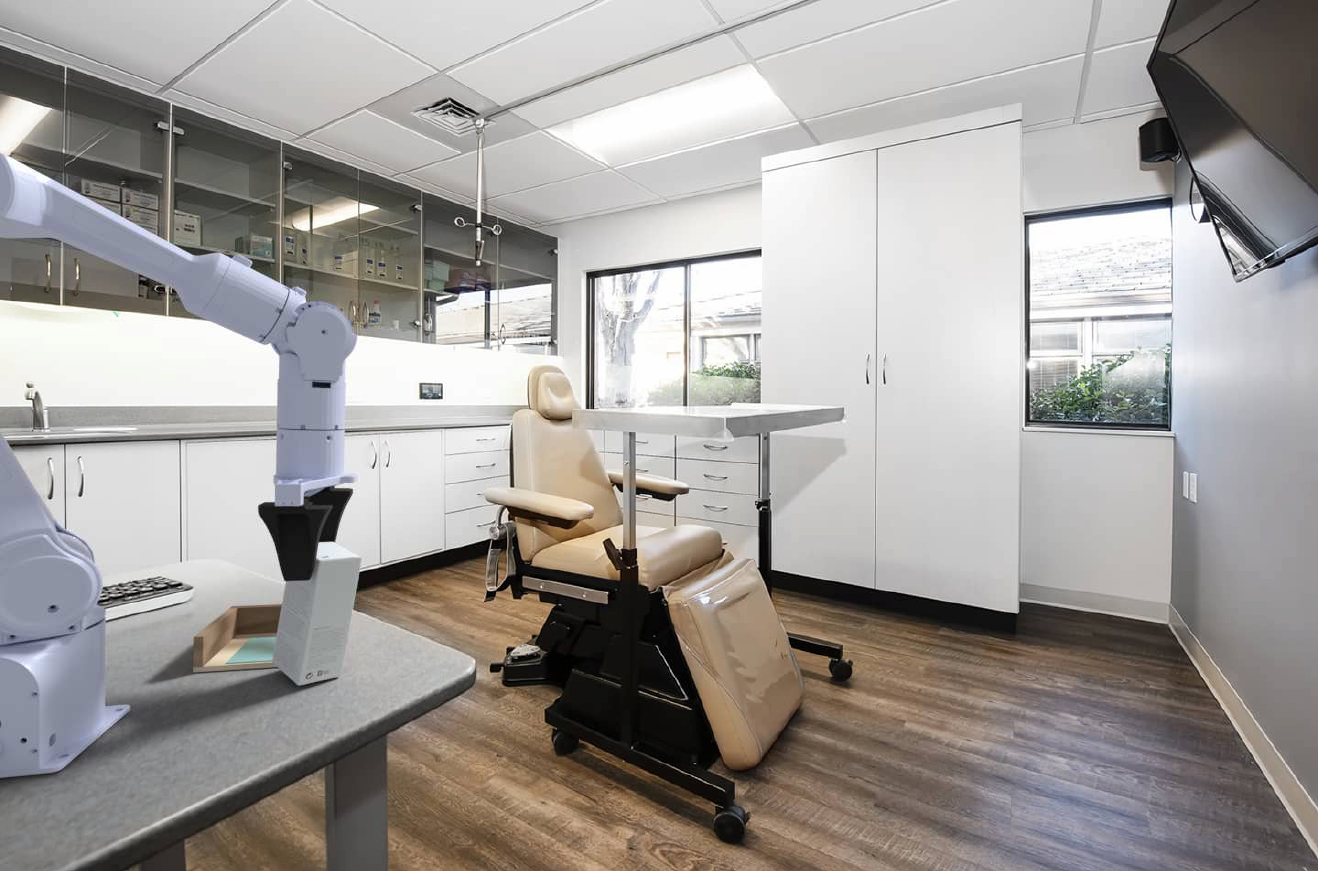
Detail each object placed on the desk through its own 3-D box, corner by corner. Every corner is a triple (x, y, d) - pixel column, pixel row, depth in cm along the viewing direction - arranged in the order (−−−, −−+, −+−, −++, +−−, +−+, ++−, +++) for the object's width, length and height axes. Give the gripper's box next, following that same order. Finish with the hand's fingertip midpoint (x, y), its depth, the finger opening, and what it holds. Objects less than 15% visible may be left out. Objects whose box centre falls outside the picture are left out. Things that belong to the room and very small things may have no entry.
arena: (319, 664, 63) (320, 630, 63) (193, 672, 60) (193, 636, 60) (340, 631, 72) (340, 601, 72) (231, 637, 69) (232, 606, 69)
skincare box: (343, 677, 60) (364, 557, 60) (296, 687, 57) (318, 560, 57) (315, 653, 64) (334, 540, 64) (269, 662, 61) (290, 542, 60)
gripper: (340, 433, 54) (337, 588, 54) (370, 427, 68) (367, 551, 68) (247, 431, 52) (245, 592, 52) (297, 425, 66) (295, 552, 66)
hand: (309, 569), depth 60 cm, fingers open, 7 cm apart
